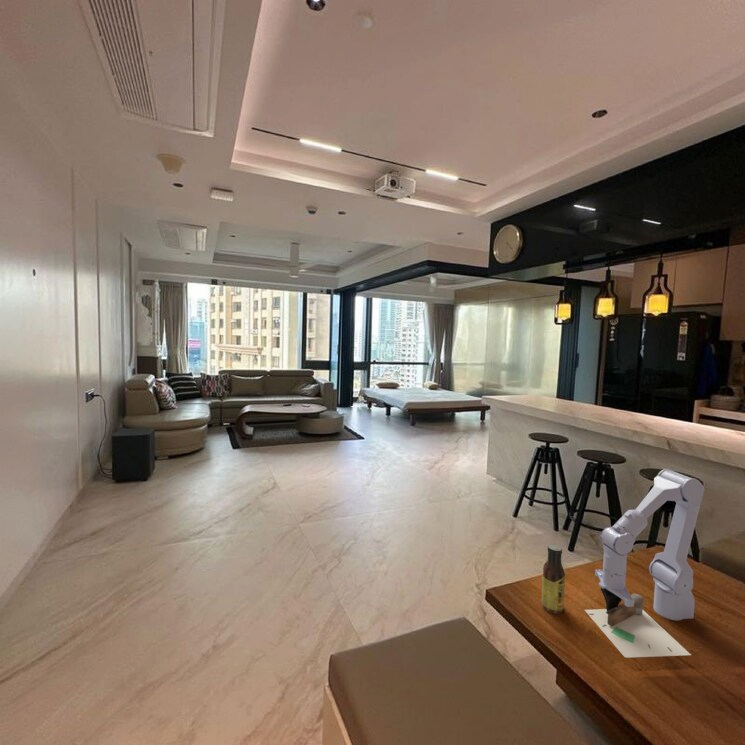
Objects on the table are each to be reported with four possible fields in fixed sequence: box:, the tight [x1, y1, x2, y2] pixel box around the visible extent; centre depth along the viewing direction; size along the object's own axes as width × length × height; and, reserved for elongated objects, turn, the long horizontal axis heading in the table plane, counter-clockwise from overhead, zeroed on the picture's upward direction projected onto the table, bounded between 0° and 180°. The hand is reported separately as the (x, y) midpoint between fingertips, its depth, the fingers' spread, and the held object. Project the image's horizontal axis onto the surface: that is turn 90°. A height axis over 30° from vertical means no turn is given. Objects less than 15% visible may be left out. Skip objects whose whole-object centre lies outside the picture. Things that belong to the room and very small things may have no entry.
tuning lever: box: [606, 593, 644, 626], centre depth 115 cm, size 16×3×5 cm, turn 117°
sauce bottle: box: [541, 544, 566, 614], centre depth 120 cm, size 7×6×20 cm
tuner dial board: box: [584, 608, 692, 659], centre depth 111 cm, size 18×18×1 cm
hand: (611, 613), depth 116 cm, fingers closed
